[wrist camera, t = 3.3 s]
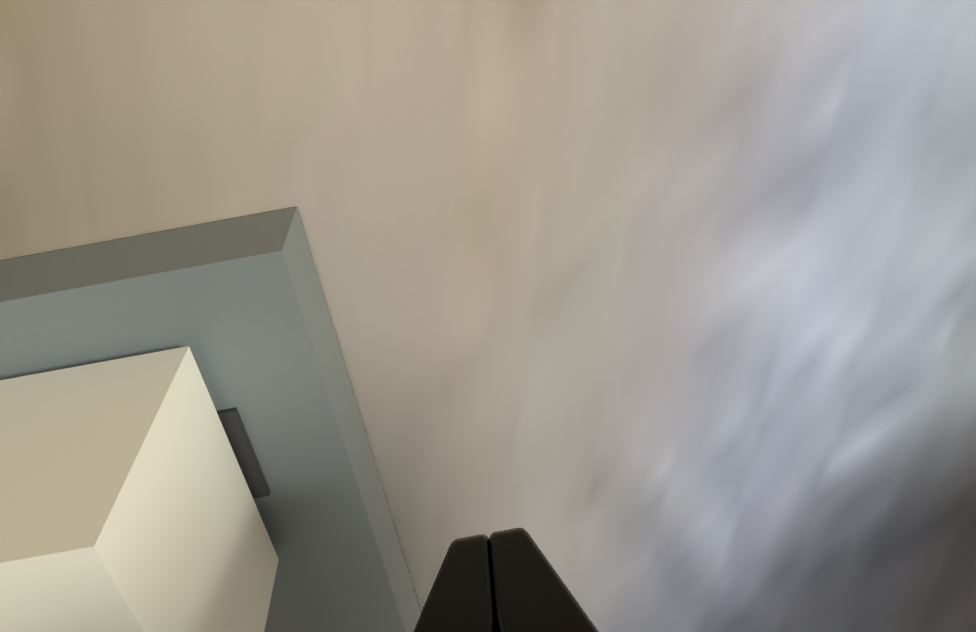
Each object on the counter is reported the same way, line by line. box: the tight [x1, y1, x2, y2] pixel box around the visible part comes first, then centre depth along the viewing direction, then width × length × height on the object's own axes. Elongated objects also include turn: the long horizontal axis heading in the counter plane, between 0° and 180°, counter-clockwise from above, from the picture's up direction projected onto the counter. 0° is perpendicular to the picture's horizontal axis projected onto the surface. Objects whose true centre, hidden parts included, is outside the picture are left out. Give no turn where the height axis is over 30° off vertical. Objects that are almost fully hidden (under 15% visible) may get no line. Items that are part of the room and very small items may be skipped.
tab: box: [0, 346, 279, 632], centre depth 10 cm, size 4×4×4 cm
